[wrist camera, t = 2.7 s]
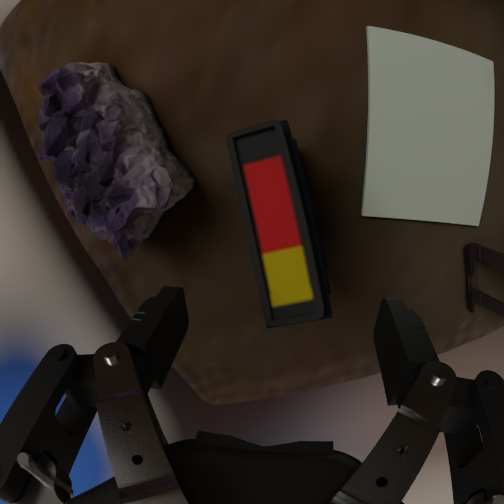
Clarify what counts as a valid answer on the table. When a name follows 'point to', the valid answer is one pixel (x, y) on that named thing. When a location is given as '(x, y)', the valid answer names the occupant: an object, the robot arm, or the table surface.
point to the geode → (108, 154)
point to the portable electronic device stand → (475, 296)
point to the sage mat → (426, 129)
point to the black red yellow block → (280, 224)
